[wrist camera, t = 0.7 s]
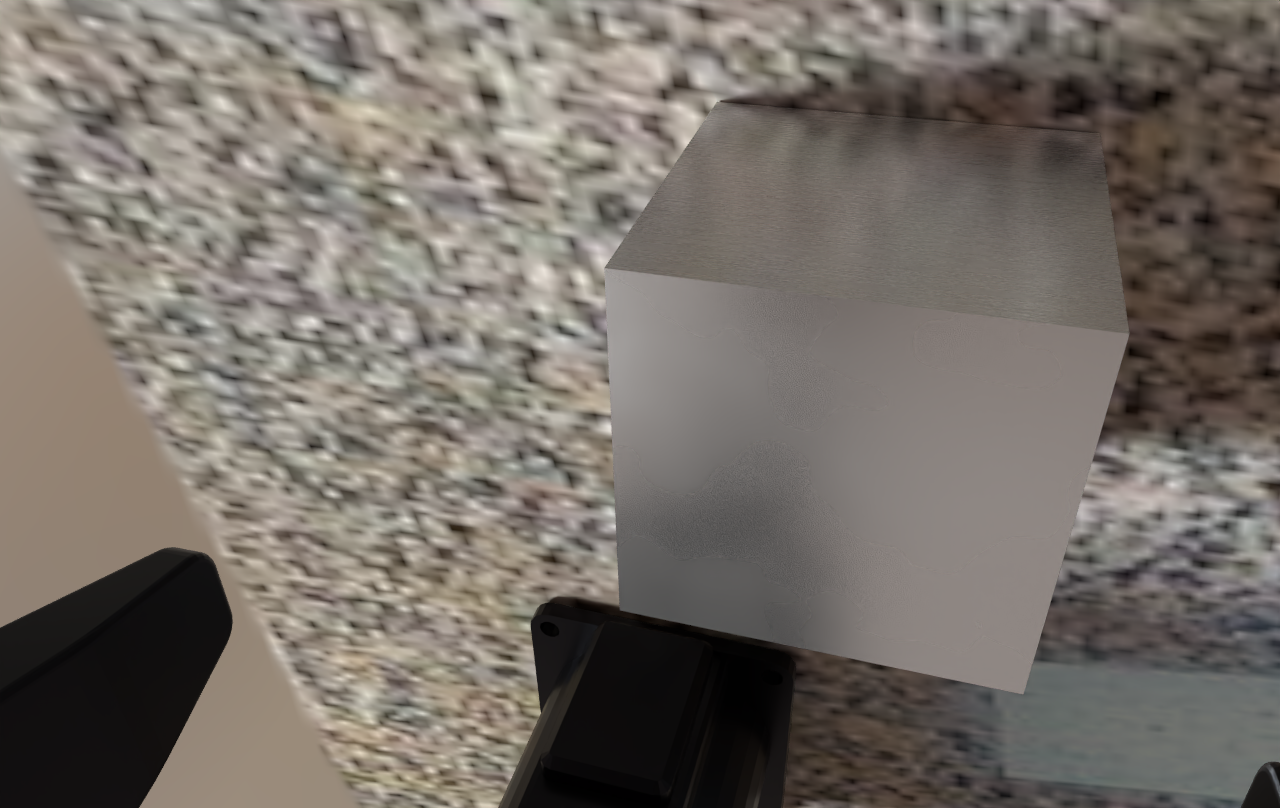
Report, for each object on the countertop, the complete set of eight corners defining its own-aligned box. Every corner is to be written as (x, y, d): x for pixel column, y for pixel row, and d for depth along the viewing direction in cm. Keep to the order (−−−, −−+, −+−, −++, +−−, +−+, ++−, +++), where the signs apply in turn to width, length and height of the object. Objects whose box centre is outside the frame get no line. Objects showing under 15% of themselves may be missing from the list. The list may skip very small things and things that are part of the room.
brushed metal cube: (1024, 443, 20) (1023, 694, 15) (710, 396, 21) (620, 610, 16) (1100, 133, 16) (1129, 333, 11) (716, 101, 18) (604, 268, 13)
